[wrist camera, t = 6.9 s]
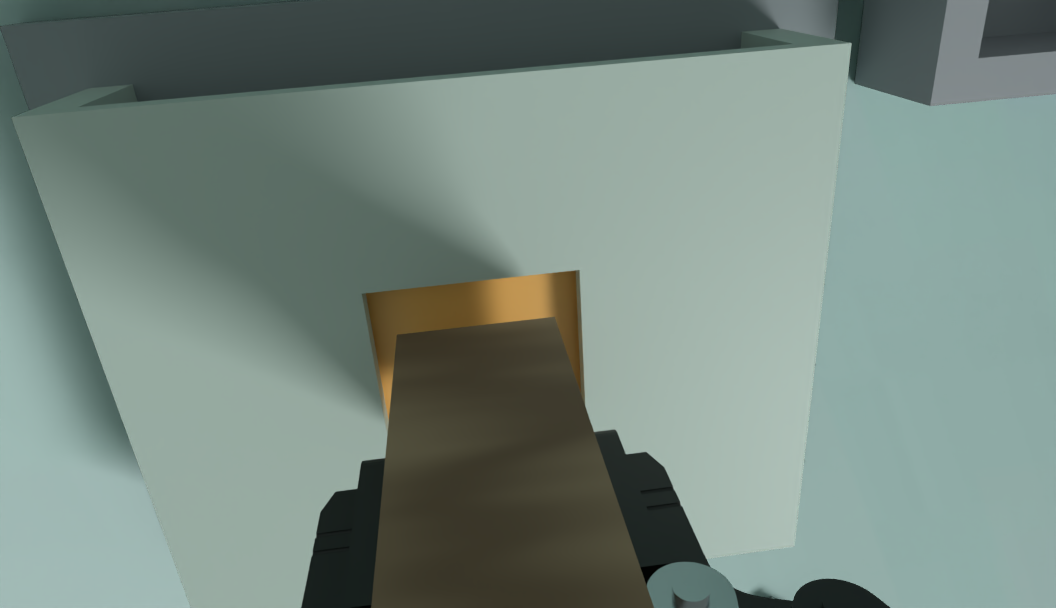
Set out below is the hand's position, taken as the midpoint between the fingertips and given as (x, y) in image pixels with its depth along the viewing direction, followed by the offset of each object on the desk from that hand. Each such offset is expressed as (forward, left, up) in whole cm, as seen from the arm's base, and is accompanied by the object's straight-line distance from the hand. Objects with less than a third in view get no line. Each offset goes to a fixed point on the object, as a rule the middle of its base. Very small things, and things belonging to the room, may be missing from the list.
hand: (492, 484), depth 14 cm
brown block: (0, 0, -3) cm, 3 cm away
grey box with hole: (0, 0, -9) cm, 9 cm away
